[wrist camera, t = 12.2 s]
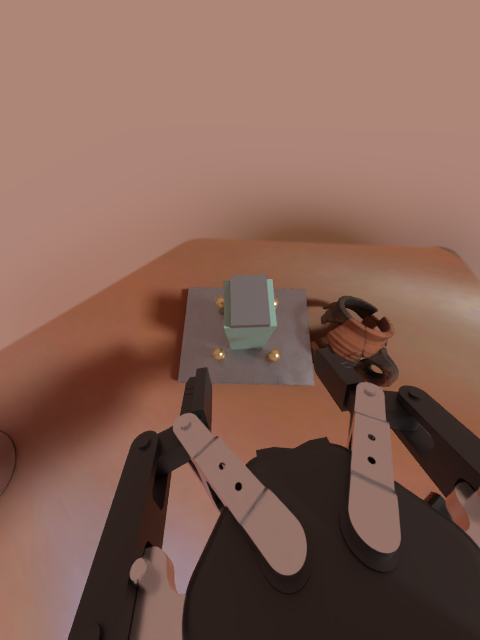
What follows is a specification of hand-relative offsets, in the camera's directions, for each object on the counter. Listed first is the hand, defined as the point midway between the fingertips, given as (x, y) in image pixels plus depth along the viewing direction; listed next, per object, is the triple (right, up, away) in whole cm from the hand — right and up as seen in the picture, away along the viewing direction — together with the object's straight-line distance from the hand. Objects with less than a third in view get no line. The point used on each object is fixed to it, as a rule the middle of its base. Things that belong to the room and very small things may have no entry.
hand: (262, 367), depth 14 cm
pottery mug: (+13, -1, +14) cm, 20 cm away
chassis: (-1, +1, +15) cm, 15 cm away
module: (-1, +2, +13) cm, 14 cm away
